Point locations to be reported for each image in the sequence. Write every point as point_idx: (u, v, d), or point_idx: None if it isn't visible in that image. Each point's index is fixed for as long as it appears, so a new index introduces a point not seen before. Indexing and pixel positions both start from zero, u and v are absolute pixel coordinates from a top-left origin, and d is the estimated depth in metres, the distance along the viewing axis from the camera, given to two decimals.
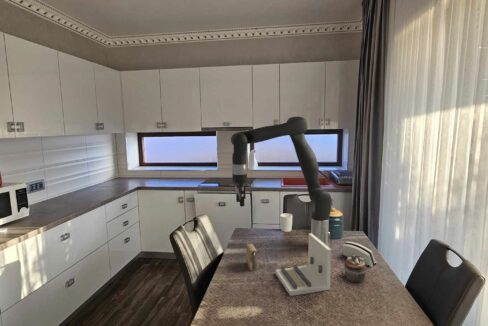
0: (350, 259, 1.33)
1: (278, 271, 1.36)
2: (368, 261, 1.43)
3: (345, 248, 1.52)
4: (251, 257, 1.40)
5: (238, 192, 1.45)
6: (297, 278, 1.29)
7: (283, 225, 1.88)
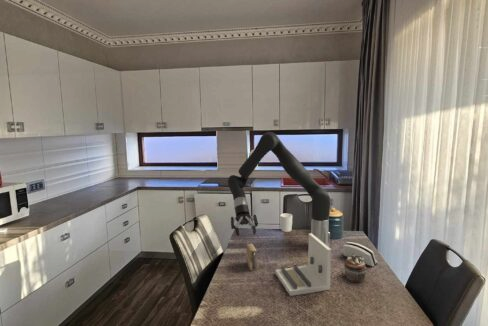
0: (350, 259, 1.33)
1: (278, 271, 1.36)
2: (369, 261, 1.43)
3: (346, 248, 1.51)
4: (251, 257, 1.40)
5: None
6: (297, 278, 1.29)
7: (283, 225, 1.88)
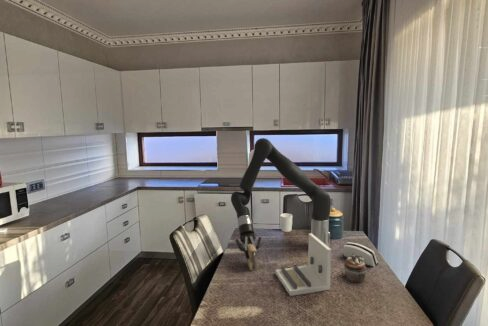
0: (350, 259, 1.33)
1: (278, 271, 1.36)
2: (370, 261, 1.42)
3: (346, 249, 1.51)
4: (251, 257, 1.40)
5: (244, 245, 1.49)
6: (297, 278, 1.29)
7: (283, 225, 1.88)
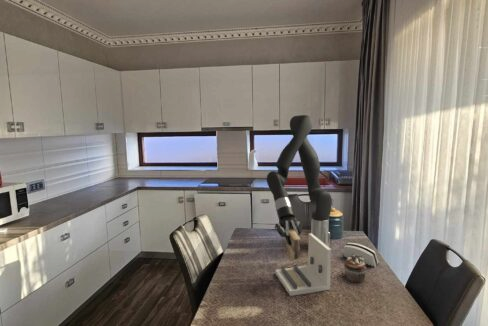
0: (350, 259, 1.33)
1: (278, 271, 1.36)
2: (372, 261, 1.42)
3: (347, 249, 1.50)
4: (294, 246, 1.25)
5: (284, 231, 1.33)
6: (297, 278, 1.29)
7: None
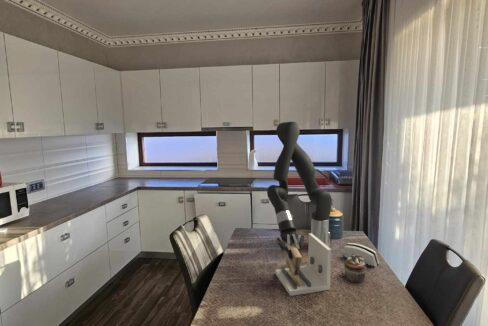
0: (350, 259, 1.33)
1: (278, 271, 1.36)
2: (372, 262, 1.42)
3: (347, 250, 1.50)
4: (295, 263, 1.26)
5: (285, 244, 1.33)
6: (297, 278, 1.29)
7: None
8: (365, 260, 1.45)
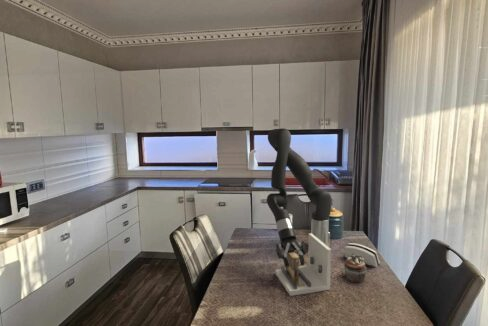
0: (350, 259, 1.33)
1: (278, 271, 1.36)
2: (373, 262, 1.42)
3: (348, 250, 1.50)
4: (293, 265, 1.28)
5: None
6: None
7: None
8: (366, 260, 1.45)
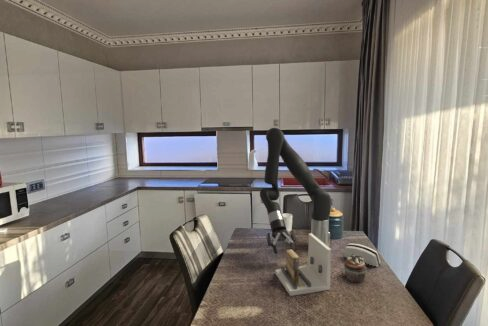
0: (350, 259, 1.33)
1: (278, 271, 1.36)
2: (374, 262, 1.42)
3: (348, 250, 1.49)
4: (293, 265, 1.28)
5: None
6: None
7: None
8: (367, 260, 1.44)
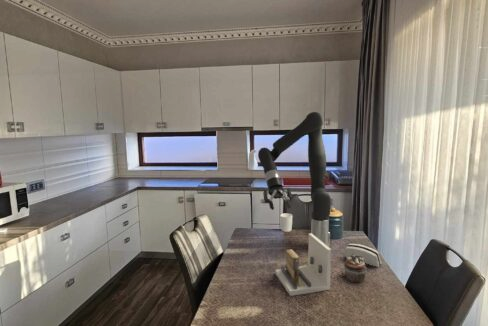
0: (350, 259, 1.33)
1: (278, 271, 1.36)
2: (375, 262, 1.42)
3: (349, 251, 1.49)
4: (293, 265, 1.28)
5: None
6: None
7: (283, 225, 1.88)
8: (367, 261, 1.44)
